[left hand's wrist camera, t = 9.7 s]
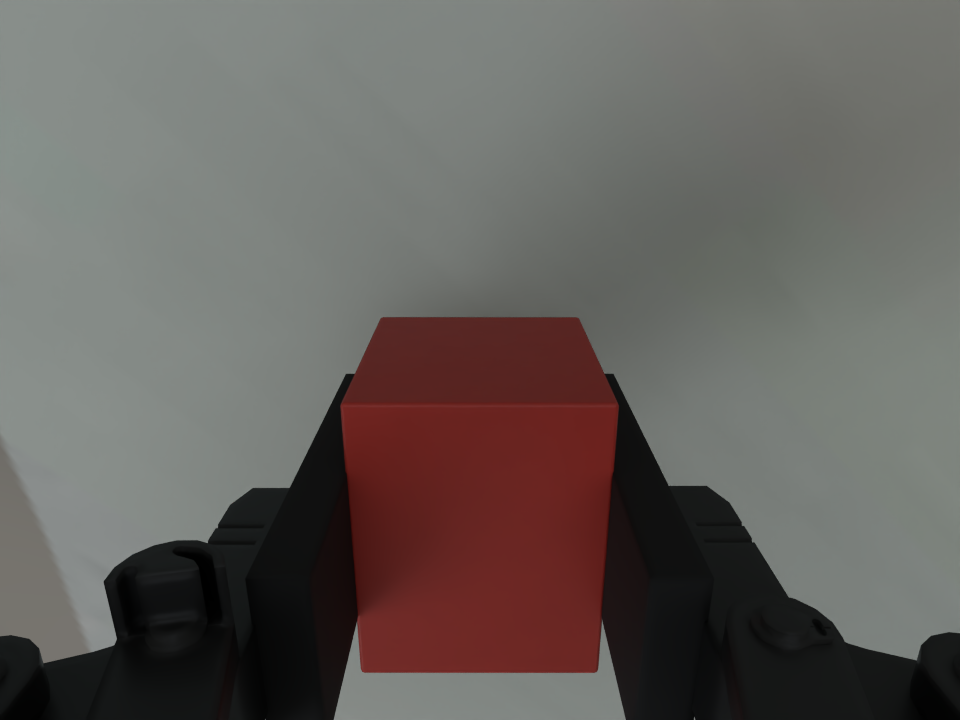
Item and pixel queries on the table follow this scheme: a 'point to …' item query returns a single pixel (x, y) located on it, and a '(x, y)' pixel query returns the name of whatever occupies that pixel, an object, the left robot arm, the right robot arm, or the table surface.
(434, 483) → the block
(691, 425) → the table surface
